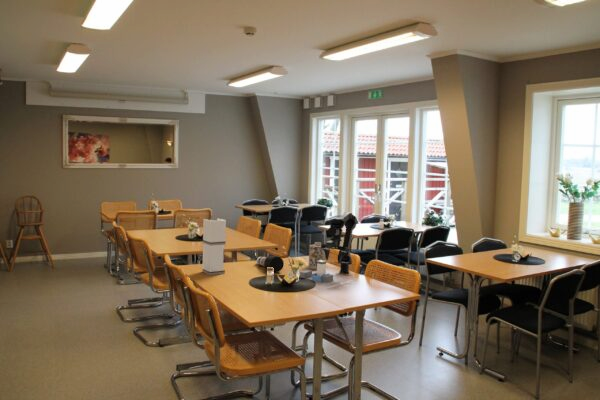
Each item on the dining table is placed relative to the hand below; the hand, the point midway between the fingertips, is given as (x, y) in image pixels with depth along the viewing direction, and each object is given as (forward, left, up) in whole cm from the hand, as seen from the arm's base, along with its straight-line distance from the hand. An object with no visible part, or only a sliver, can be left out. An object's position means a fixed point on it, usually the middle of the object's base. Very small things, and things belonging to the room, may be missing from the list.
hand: (332, 261), depth 329 cm
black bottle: (-21, -47, -12) cm, 53 cm away
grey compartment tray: (+9, -10, -11) cm, 17 cm away
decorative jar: (-32, -13, -11) cm, 36 cm away
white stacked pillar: (+4, -78, -11) cm, 79 cm away
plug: (+11, -6, -10) cm, 16 cm away
